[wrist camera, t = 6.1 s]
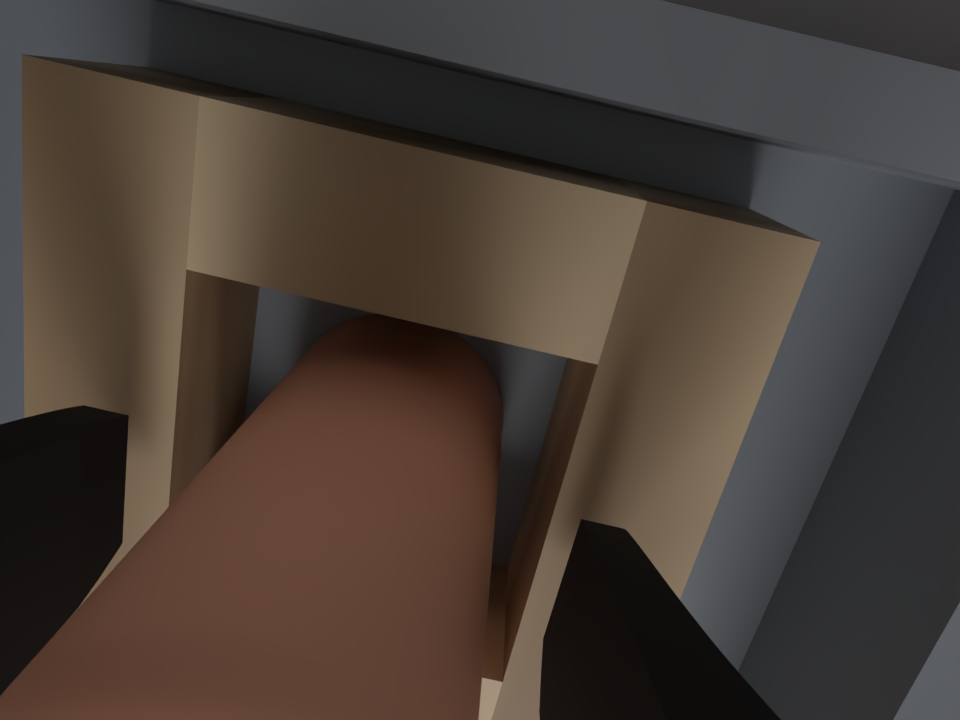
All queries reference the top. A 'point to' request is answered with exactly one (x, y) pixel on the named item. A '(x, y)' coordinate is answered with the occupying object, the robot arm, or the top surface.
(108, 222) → the box
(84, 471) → the robot arm
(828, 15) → the top surface
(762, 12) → the top surface
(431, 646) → the peg
